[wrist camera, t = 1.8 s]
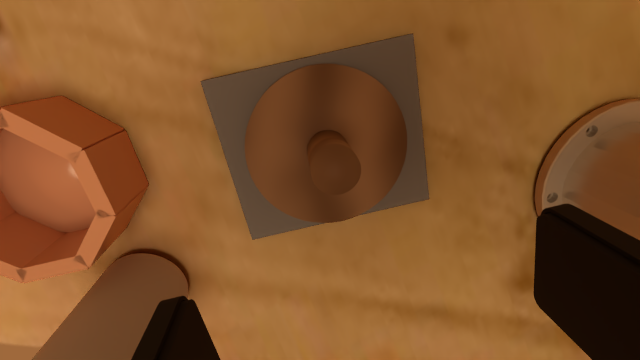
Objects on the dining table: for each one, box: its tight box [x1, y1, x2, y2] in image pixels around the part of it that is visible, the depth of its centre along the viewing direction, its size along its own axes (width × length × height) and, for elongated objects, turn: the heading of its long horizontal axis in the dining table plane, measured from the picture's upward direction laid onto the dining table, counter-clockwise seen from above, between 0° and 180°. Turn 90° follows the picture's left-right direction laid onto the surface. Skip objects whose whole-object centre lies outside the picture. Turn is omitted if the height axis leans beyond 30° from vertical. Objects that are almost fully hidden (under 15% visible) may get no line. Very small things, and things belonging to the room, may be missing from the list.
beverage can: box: [32, 253, 188, 360], centre depth 22 cm, size 6×6×12 cm
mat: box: [201, 34, 429, 240], centre depth 24 cm, size 14×12×1 cm
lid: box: [245, 64, 407, 223], centre depth 21 cm, size 11×11×6 cm
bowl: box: [0, 96, 149, 283], centre depth 21 cm, size 10×10×5 cm
